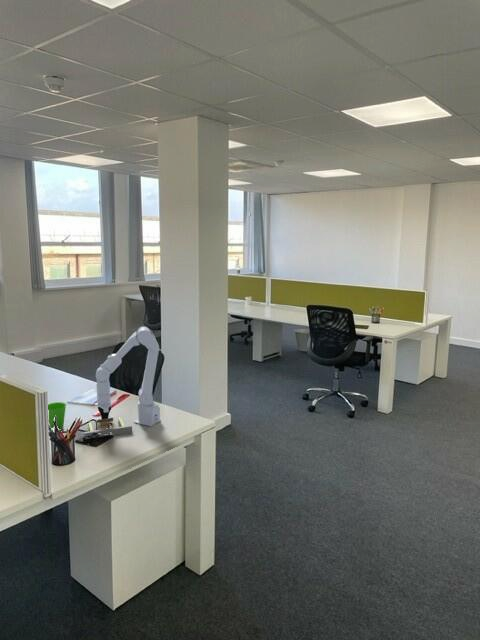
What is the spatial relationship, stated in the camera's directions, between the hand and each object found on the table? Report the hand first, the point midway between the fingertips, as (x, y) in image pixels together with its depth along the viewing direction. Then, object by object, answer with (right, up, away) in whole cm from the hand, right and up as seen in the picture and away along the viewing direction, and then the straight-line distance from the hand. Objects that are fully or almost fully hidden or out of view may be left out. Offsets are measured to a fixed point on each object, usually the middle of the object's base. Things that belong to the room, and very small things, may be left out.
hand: (105, 422), depth 215 cm
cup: (-20, -2, -4) cm, 21 cm away
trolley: (+2, -2, -5) cm, 6 cm away
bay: (+2, -2, -5) cm, 6 cm away
